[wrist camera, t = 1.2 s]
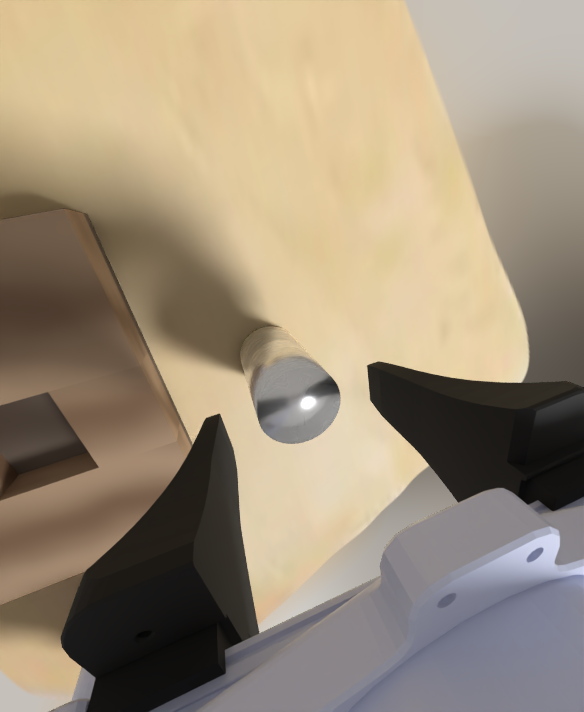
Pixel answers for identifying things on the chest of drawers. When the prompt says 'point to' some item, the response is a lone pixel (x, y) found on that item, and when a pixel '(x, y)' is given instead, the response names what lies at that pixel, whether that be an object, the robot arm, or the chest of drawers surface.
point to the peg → (287, 386)
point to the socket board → (73, 405)
